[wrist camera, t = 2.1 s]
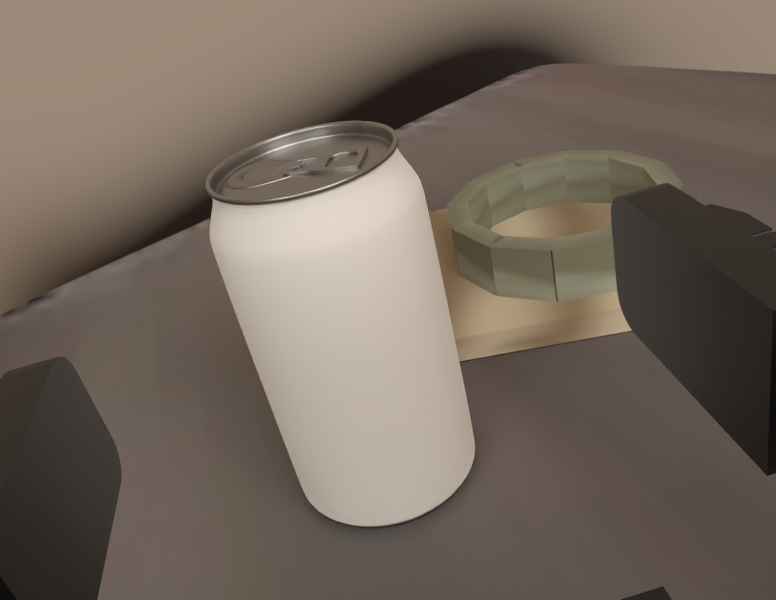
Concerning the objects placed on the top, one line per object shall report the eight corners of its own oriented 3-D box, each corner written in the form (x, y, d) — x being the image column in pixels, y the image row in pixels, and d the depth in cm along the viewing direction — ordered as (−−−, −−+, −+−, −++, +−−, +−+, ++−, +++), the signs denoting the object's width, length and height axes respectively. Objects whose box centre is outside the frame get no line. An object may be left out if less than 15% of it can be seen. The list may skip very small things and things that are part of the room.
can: (324, 412, 31) (232, 134, 25) (481, 401, 29) (424, 102, 23) (282, 538, 25) (151, 221, 19) (473, 533, 24) (395, 187, 18)
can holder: (445, 363, 32) (429, 290, 30) (428, 231, 43) (416, 171, 41) (760, 307, 30) (764, 226, 28) (658, 186, 41) (656, 122, 40)
